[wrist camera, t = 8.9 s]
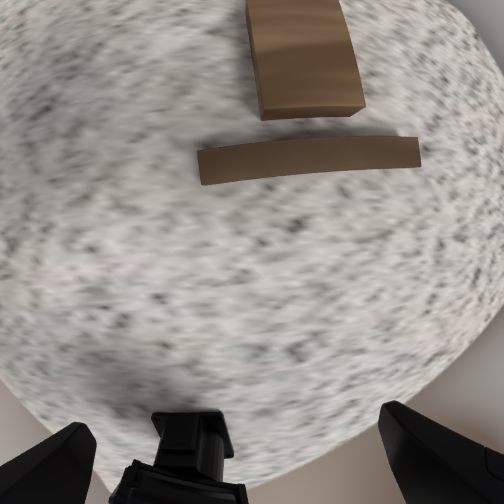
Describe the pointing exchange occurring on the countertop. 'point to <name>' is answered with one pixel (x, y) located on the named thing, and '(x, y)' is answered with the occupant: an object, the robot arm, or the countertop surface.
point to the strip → (306, 157)
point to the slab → (303, 59)
